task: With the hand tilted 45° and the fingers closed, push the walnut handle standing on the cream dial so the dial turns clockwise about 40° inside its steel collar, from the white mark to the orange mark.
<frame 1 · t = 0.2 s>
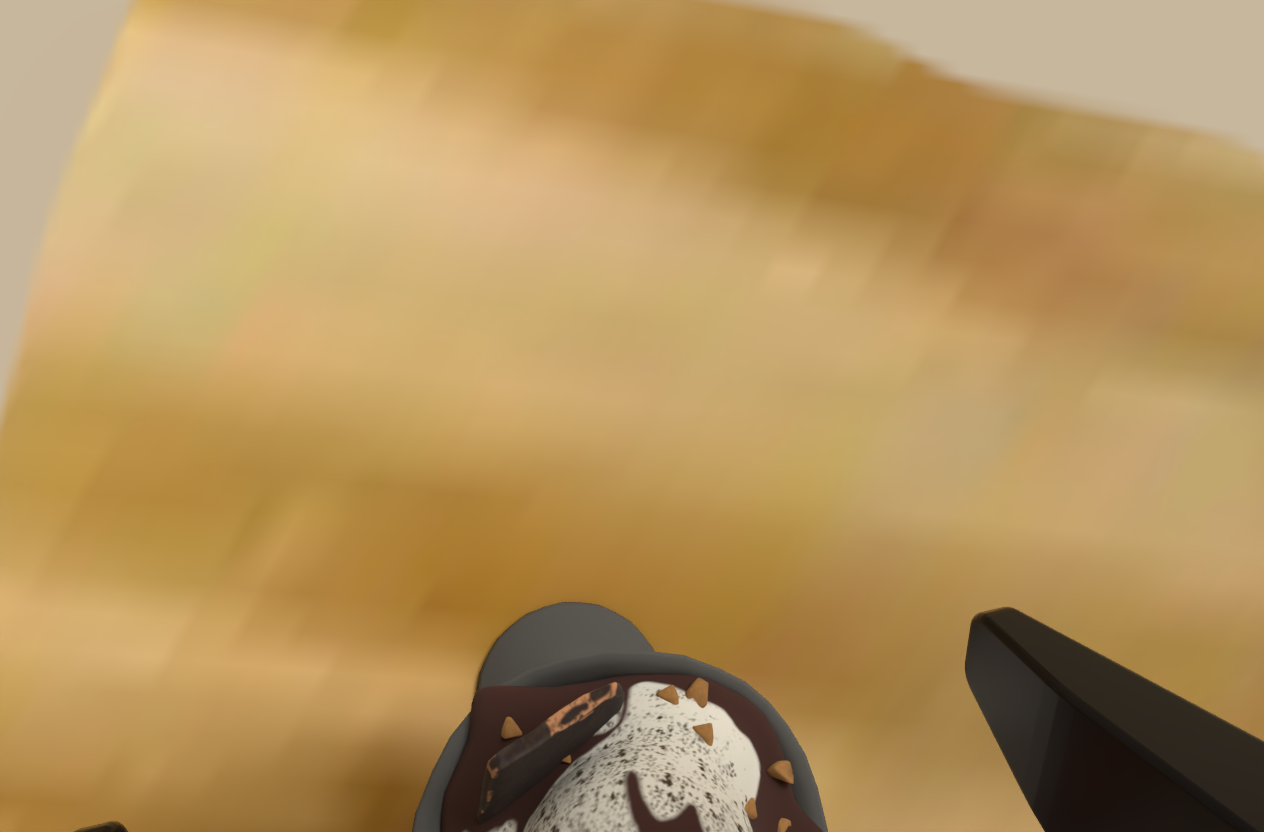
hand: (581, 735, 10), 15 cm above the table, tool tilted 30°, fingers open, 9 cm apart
sundae: (572, 693, 25), on the table
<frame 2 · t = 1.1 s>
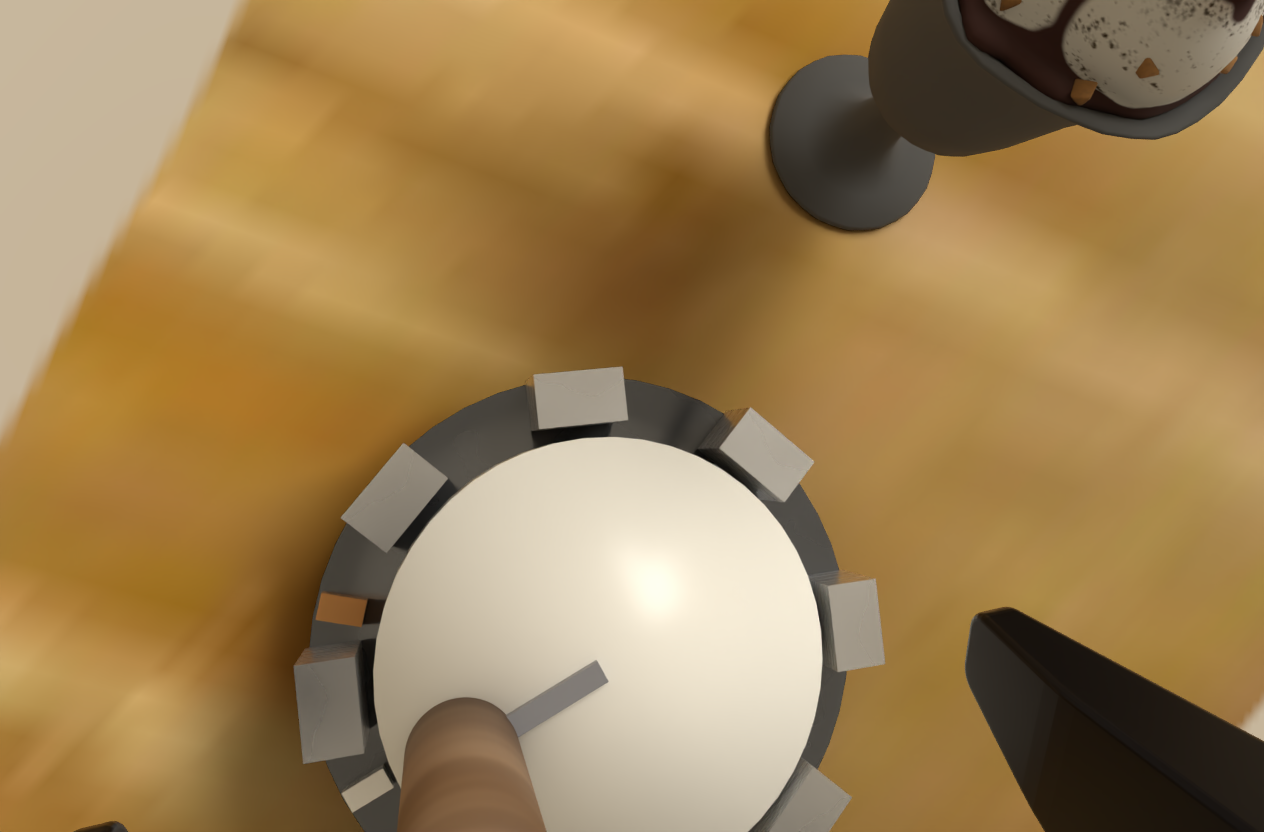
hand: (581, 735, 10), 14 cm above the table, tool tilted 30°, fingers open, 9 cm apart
dial plate: (585, 636, 23), on the table
sundae: (850, 146, 26), on the table
dial: (642, 703, 17), point 7 cm above the table, hinge at 0.0°
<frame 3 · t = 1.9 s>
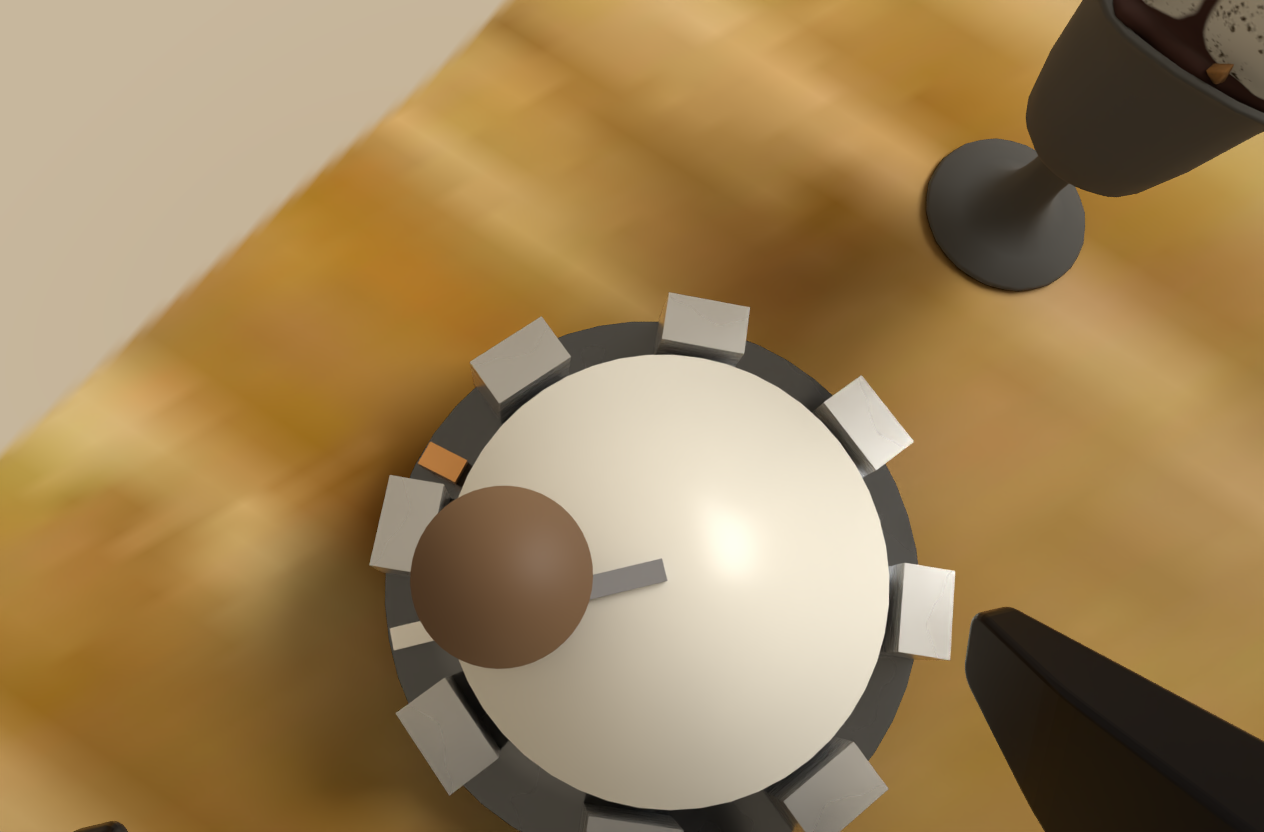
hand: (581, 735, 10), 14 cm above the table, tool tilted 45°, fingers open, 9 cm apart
dial plate: (652, 580, 24), on the table
sundae: (1002, 218, 28), on the table
dial: (698, 552, 17), point 7 cm above the table, hinge at 0.0°
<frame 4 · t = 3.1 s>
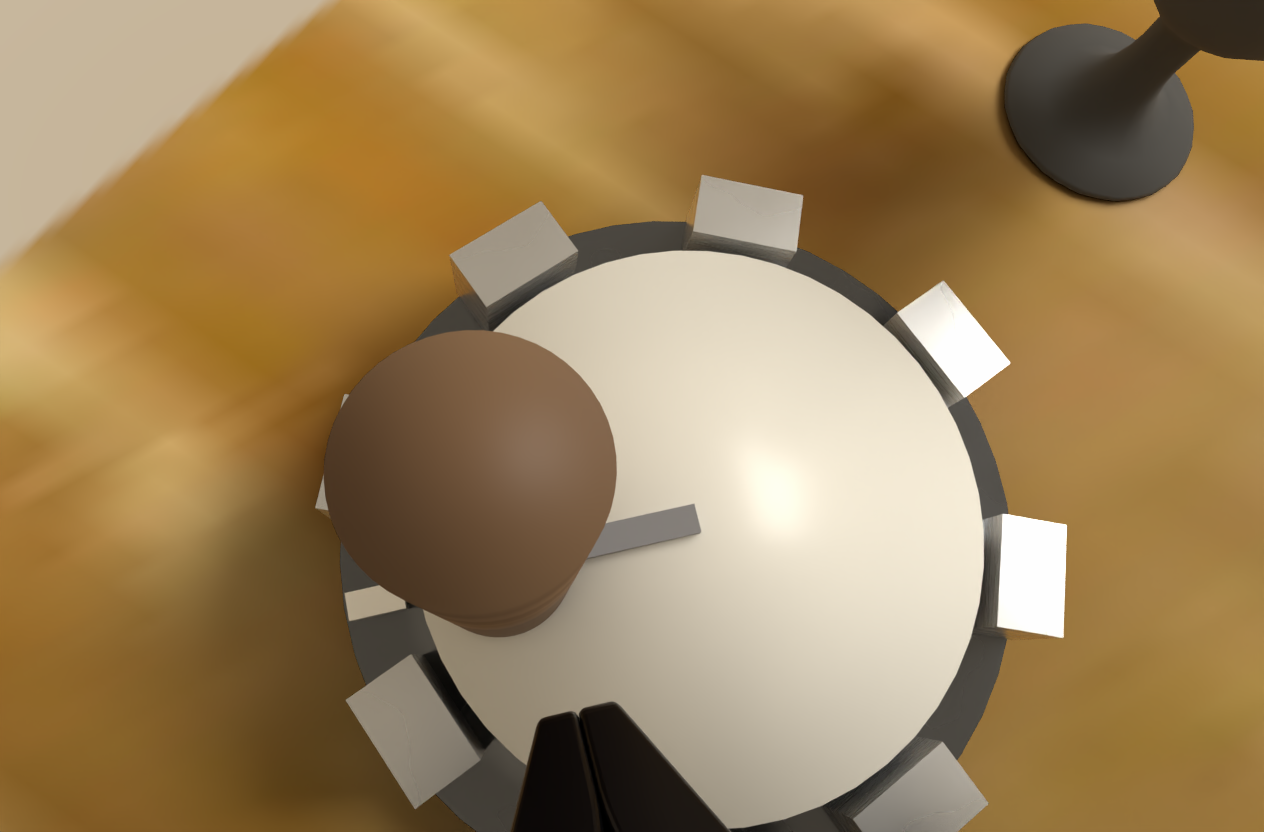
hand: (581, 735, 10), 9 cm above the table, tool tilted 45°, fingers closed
dial plate: (677, 540, 19), on the table
sundae: (1094, 118, 23), on the table
dial: (750, 482, 13), point 7 cm above the table, hinge at 0.0°
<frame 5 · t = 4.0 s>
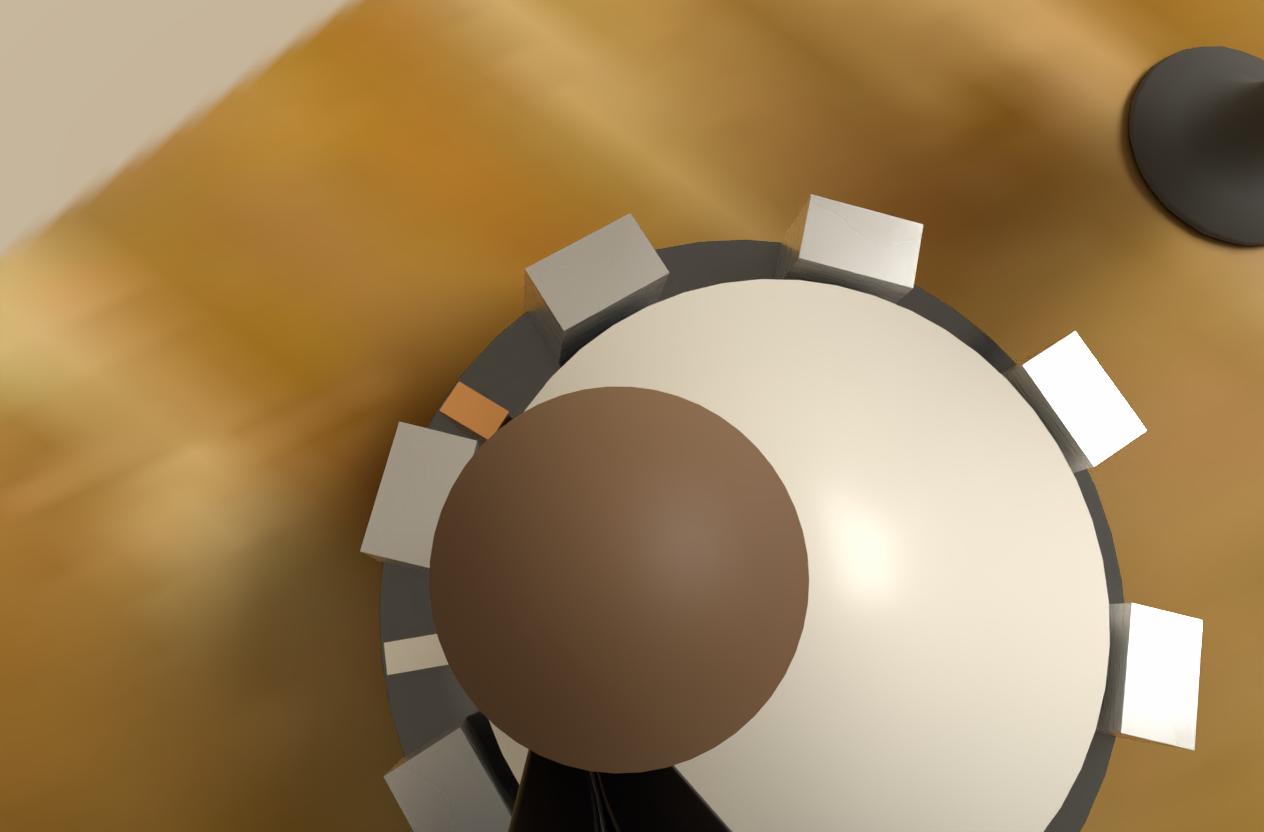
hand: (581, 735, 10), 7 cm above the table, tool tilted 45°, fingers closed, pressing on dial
dial plate: (748, 596, 17), on the table
sundae: (1224, 152, 21), on the table
dial: (881, 573, 11), point 7 cm above the table, hinge at -4.5°, touching gripper
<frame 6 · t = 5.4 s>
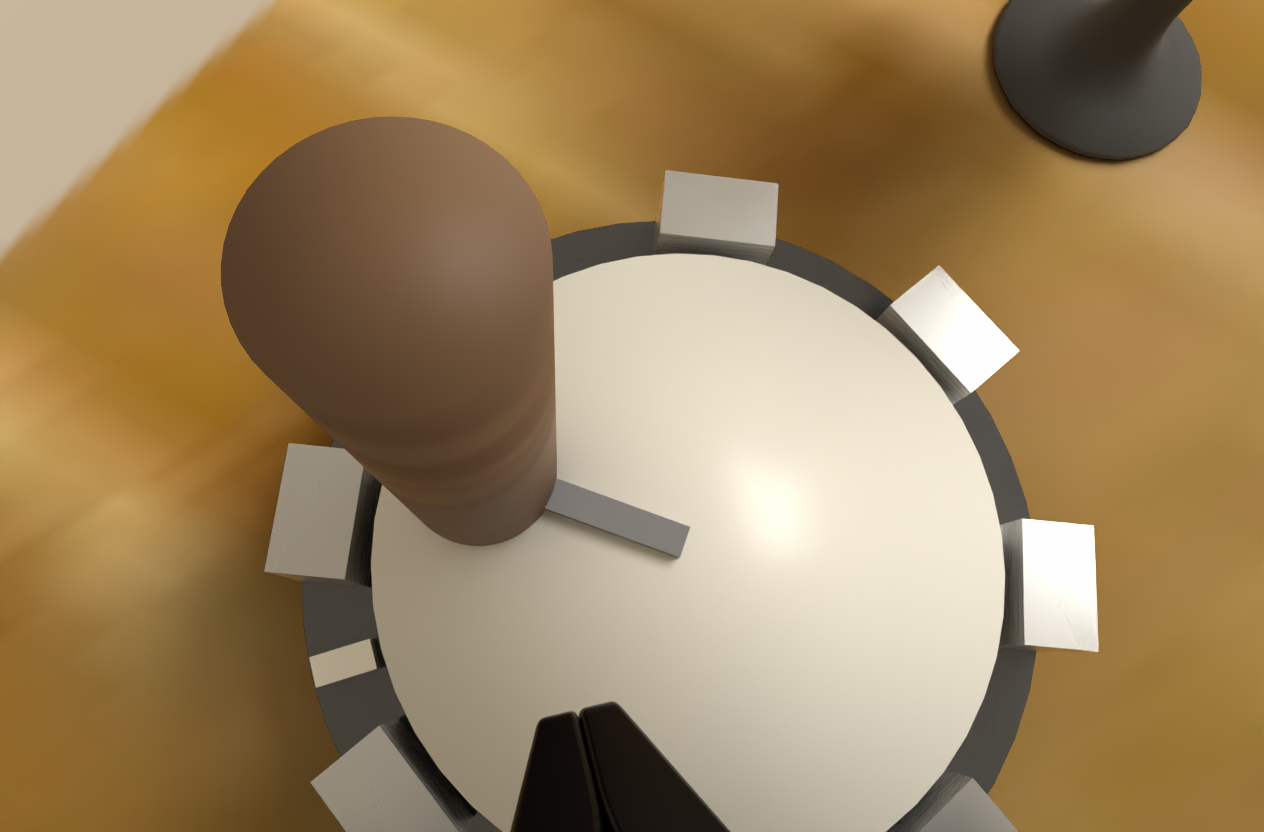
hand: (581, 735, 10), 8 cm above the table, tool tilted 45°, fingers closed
dial plate: (671, 566, 18), on the table
sundae: (1092, 71, 21), on the table
dial: (732, 518, 11), point 7 cm above the table, hinge at -36.8°
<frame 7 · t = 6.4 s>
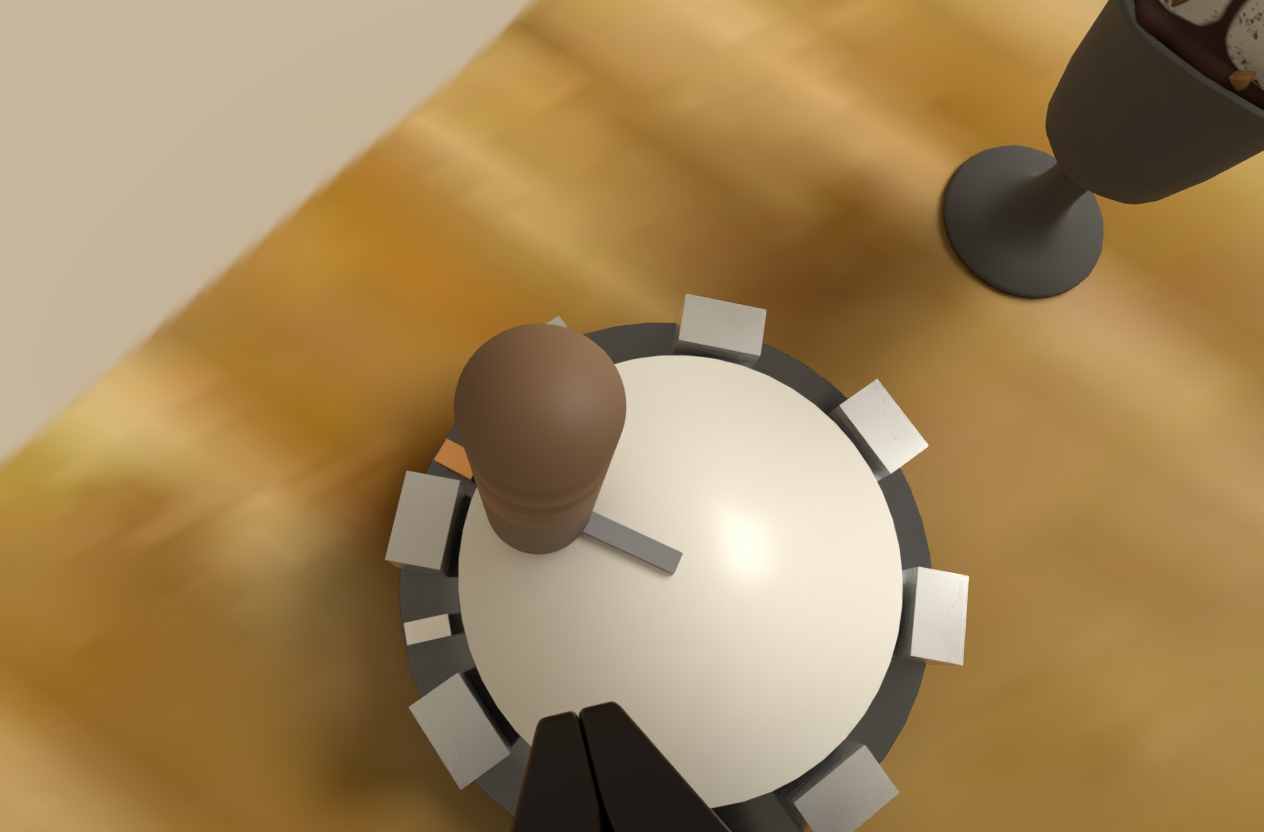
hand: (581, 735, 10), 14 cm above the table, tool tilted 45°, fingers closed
dial plate: (665, 580, 24), on the table
sundae: (1020, 225, 28), on the table
dial: (712, 551, 17), point 7 cm above the table, hinge at -36.8°
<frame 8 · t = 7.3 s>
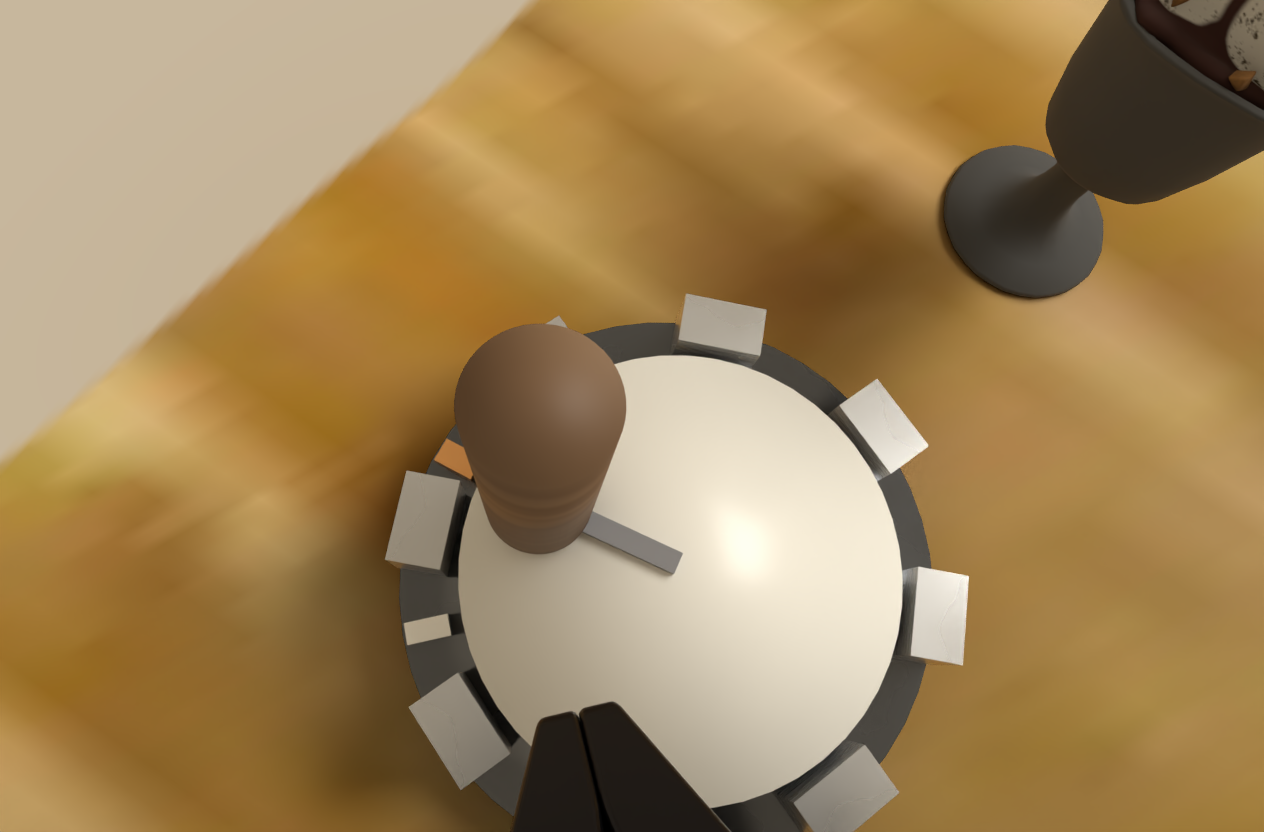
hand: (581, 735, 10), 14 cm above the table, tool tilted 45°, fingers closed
dial plate: (665, 580, 24), on the table
sundae: (1020, 225, 28), on the table
dial: (712, 551, 17), point 7 cm above the table, hinge at -36.8°
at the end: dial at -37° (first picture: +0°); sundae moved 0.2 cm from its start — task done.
